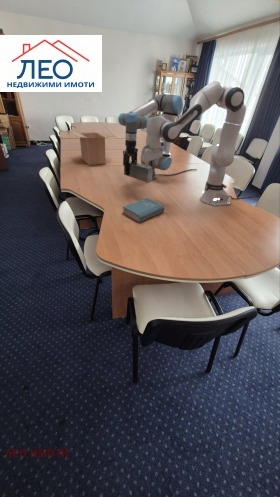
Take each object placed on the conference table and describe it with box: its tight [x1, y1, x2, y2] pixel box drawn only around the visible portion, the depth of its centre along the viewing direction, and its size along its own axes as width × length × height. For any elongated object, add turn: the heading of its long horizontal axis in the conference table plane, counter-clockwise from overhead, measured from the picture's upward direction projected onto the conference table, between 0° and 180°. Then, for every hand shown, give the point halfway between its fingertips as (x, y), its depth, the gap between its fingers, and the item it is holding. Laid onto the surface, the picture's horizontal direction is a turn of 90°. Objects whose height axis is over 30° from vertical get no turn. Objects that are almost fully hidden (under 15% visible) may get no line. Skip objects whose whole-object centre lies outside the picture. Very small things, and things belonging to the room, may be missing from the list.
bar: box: [123, 159, 153, 184], centre depth 157 cm, size 22×5×10 cm, turn 51°
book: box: [122, 197, 165, 224], centre depth 146 cm, size 23×16×5 cm
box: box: [70, 129, 114, 166], centre depth 229 cm, size 44×36×27 cm
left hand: (129, 174), depth 163 cm, fingers closed on bar, 5 cm apart
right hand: (151, 166), depth 148 cm, fingers open, 8 cm apart
